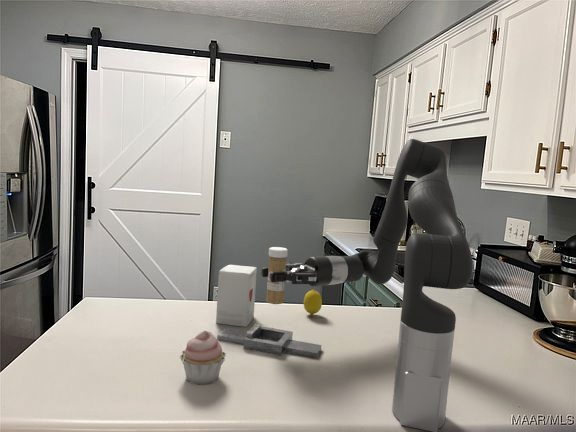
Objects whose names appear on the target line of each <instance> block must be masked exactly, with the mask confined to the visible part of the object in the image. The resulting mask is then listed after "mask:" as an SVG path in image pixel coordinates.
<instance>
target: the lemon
mask: <svg viewBox="0 0 576 432" xmlns="http://www.w3.org/2000/svg"><path fill="white" fill-rule="evenodd" d="M322 305H323V301H322V296H321V294H320V293H319V292H318V290H317V291H316V289H311V290H309V291H308V292H306V293H305V295H304V298H303V308H304V310H305V311H306V313H308V314H310V315H311V316H314V314H317V313H318V312H320V311H321V309H322Z"/></svg>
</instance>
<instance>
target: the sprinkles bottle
mask: <svg viewBox="0 0 576 432" xmlns="http://www.w3.org/2000/svg"><path fill="white" fill-rule="evenodd" d="M268 258H269V259H268V267H269V268H268V277H267V279H266V281H267V283H266V300H265V301H266V303H267V304H271V305H281V304H283V303H285V289H286V281H283V282H271V281H270V274H271V273H272V272H286V262H287V260H288V259H287V258H288V248H286V247H280V246H272V247H269V248H268Z"/></svg>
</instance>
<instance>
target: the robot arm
mask: <svg viewBox="0 0 576 432" xmlns="http://www.w3.org/2000/svg"><path fill="white" fill-rule="evenodd" d="M446 155H447V154H446V152H445V151H444V150H443V149H442V148H440V147H439V146H438V145H437V146H436V145H433V144H431V143H427V142H425V141H422V140H419V139H415V138H411V139H409V140H407V141H406V143H405V144H404V145H403V147H402V149H401V151H400V153H399V156H398V159H397V163H396V165H395V169H394V171H393V175H392V179H391V183H390V187H389V190H388V193H387V199H386V202H385V205H384V209H383V212H382V214H381V218H380V220H379V222H378V225H377V228H376V230H375V233H374V235H373V239H372V240H373V242H372V243H373V244H374V245H375V247H376V248H377V252H376V251H374V250H362V251H359V252H357V253H354V254H352V255H341V256H339V255H337V256H336V255H322V256H320V255H319V256H310V257H308V258H307V259H306V260H305V262H304V264H303V263H301V262H296V263H293V262H291V261H286V272H272V273H271V274H270V281H271V282H283V281H285V283H291V284H292V285H309V286H310V287H322V286H331V285H339V284H344V283H353V282H357V281H360V280H361V279H362V278H363V276H364V275H365V276H366V277H367V278H368V279H370V281H372V282H373V283H374V284H376V285H385V284H386V283H388V282H389V281H390V280H391V279H392V278H393V275H394V274H395V271H396V266H397V259H398V258H397V257H398V250H399V249H398V248H399V245H400V243H401V240H402V239H403V236H404V233H405V231H406V228H407V225H408V212H409V214H410V215H409V216H410V217H411V219H412V220H413V222H414V223H415V224H416V225H417V226H418V227H419V228H420V229H421V230H423V231H424V232H426V233H413V234H411V235H409V238H408V240H407V242H406V245H405V249H404V250H405V252H404V253H405V254H404V268H403V269H404V270H403V271H404V272H403V273H404V274H403V291H402V303H401V311H400V323H399V331H398V343H397V350H396V351H397V352H396V363H395V374H394V382H393V384H394V385H393V395H392V397H393V398H392V406H391V407H392V408H391V411H392V414H393V415H394V417H396V419H397V420H399V425H401V426H406V427H408V428H409V427H410V428H415V429H420V430H424V431H427V432H438V431H439V429H440V428H442V427H443V426H444V425H445V421H446V414H447V413H446V411H447V406H448V395H449V394H448V393H449V383H450V376H451V367H452V366H451V365H452V356H453V347H454V341H455V340H454V339H455V330H456V321H457V317H456V313H455V312H454V311H453V309H451V308H450V307H448V306H447V305H444V304H442V303H440V302H438V301H436V300H434V299H432V298H430V297H429V296H428V295H426V294H425V293H424V291H423V288H424V287H426V288H434V289H445V290H460V289H464V288H465V287H466V286H468V284H469V283H470V281H471V279H472V276H473V265H474V264H473V257H472V251H471V247H470V245H469V242H468V239H467V237H466V235H465V232H464V230H463V228H462V225H461V223H460V221H459V218H458V215H457V209H456V205H455V199H454V196H453V192H452V189H451V186H450V182H449V178H448V166H447V165H448V164H447V156H446ZM407 176H410V177H411V178H412V177H413V178H416V181H414V183H412V184H411V186H410V187H409V190H408V195H407V197H408V198H407V200H408V209H409V211H407V207H406V202H405V193H404V188H405V181H406V177H407ZM268 268H269V266H268V267H262V268H261V277H263V278H268Z"/></svg>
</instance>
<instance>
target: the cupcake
mask: <svg viewBox="0 0 576 432" xmlns="http://www.w3.org/2000/svg"><path fill="white" fill-rule="evenodd" d="M226 355H227V353H226V352H225V351H223V348H222V344H221V343H220V342H219V340H217V336H215V335H214V334H213V333H212V332H211V331H209V330H203V331H201V332H199V333H198V334H197V335H196V336H195V337H193V338H191V339H189V340H188V341H187V343H186V348H185V349H184V350H182V351H181V355H180V356H179V359H180V361H181V363H182V365H183V369H184V372H185V377H186V380H187V381H188V382H189V383H191V384H194V385H208V384H212V383H214V382H215V381H217V379H218V378H219V375H220V371H221V369H222V365H223V363H224V362H225V360H226Z"/></svg>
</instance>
